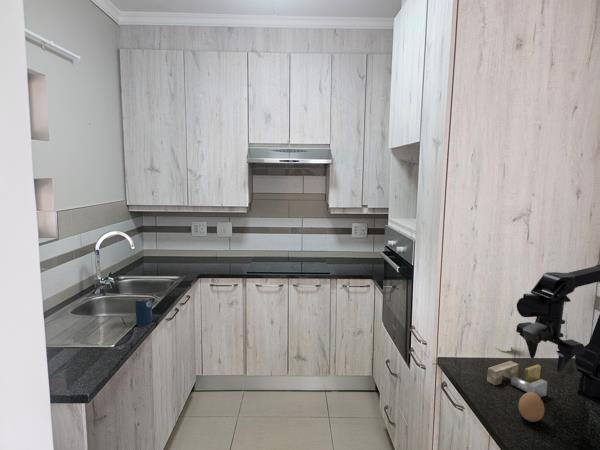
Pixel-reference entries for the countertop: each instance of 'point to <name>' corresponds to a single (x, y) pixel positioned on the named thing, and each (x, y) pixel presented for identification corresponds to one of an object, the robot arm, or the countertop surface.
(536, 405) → the egg
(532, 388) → the grey block with shaft
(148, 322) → the soda can
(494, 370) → the block
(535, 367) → the block
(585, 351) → the robot arm
